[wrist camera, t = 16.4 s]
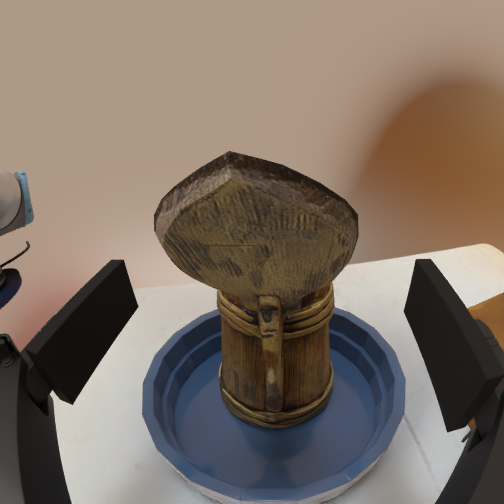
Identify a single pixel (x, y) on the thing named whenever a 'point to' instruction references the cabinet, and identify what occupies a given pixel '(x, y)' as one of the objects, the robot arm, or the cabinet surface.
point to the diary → (491, 321)
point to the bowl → (273, 439)
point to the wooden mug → (264, 278)
